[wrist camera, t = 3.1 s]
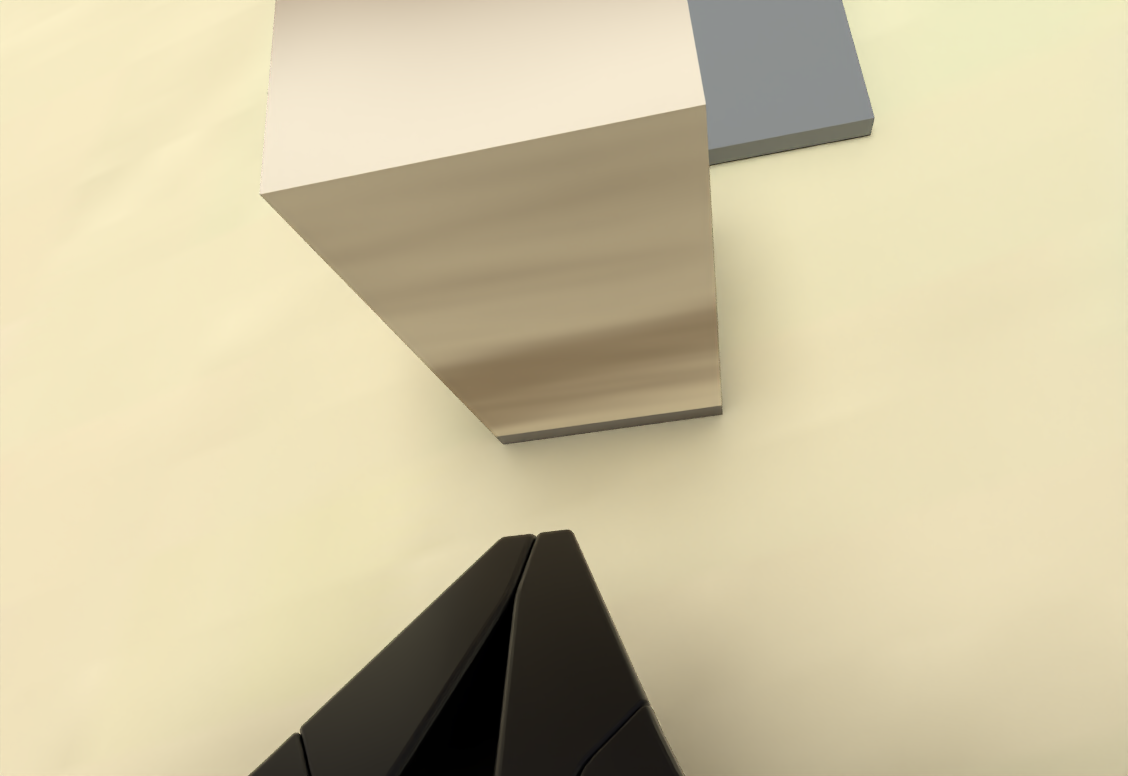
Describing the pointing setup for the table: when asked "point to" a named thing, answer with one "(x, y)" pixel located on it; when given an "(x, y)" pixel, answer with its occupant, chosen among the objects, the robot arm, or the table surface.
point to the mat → (777, 75)
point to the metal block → (510, 196)
